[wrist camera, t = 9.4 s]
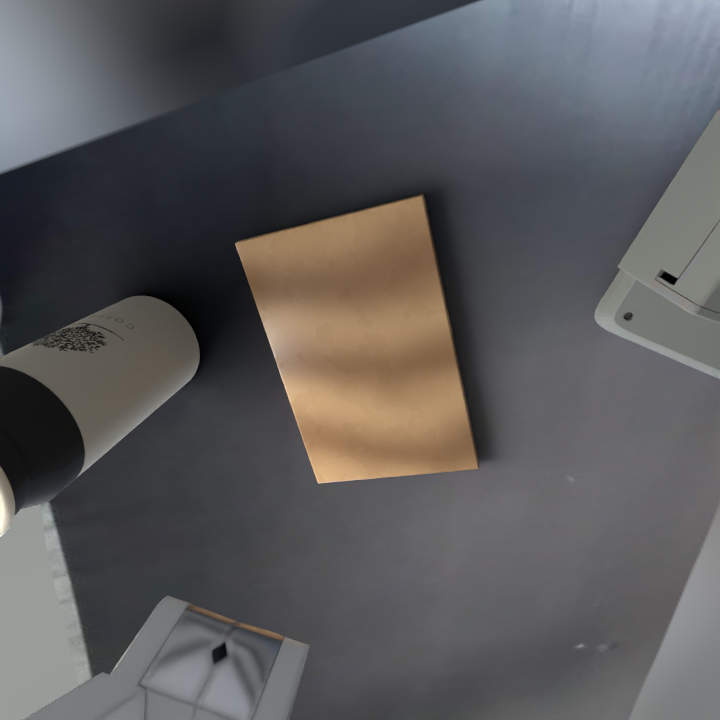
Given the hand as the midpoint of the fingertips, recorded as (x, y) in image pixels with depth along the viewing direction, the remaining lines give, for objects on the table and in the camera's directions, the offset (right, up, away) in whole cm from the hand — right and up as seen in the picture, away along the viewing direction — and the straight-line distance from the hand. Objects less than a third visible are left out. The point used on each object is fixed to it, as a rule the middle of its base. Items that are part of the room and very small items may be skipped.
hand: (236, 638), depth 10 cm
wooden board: (+3, +6, +26) cm, 27 cm away
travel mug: (-14, +7, +30) cm, 34 cm away
